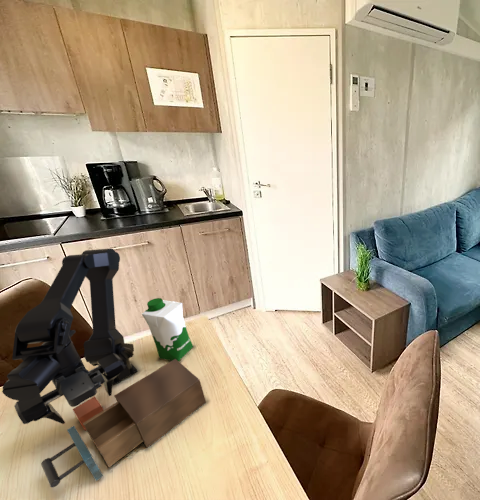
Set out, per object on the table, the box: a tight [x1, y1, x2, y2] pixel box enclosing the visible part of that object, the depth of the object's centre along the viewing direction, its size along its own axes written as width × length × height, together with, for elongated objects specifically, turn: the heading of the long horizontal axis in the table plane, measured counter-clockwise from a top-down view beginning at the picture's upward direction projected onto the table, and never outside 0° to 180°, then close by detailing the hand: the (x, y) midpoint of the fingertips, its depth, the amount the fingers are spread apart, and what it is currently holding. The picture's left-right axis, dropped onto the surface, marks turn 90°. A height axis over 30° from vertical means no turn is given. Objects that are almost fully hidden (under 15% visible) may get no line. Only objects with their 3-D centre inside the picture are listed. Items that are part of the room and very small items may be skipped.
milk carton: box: [141, 297, 194, 362], centre depth 90 cm, size 9×9×20 cm
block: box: [72, 395, 104, 432], centre depth 72 cm, size 4×4×4 cm
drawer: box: [40, 401, 143, 488], centre depth 64 cm, size 19×11×7 cm, turn 145°
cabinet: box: [113, 359, 207, 448], centre depth 74 cm, size 15×13×9 cm
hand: (87, 408), depth 71 cm, fingers open, 9 cm apart
